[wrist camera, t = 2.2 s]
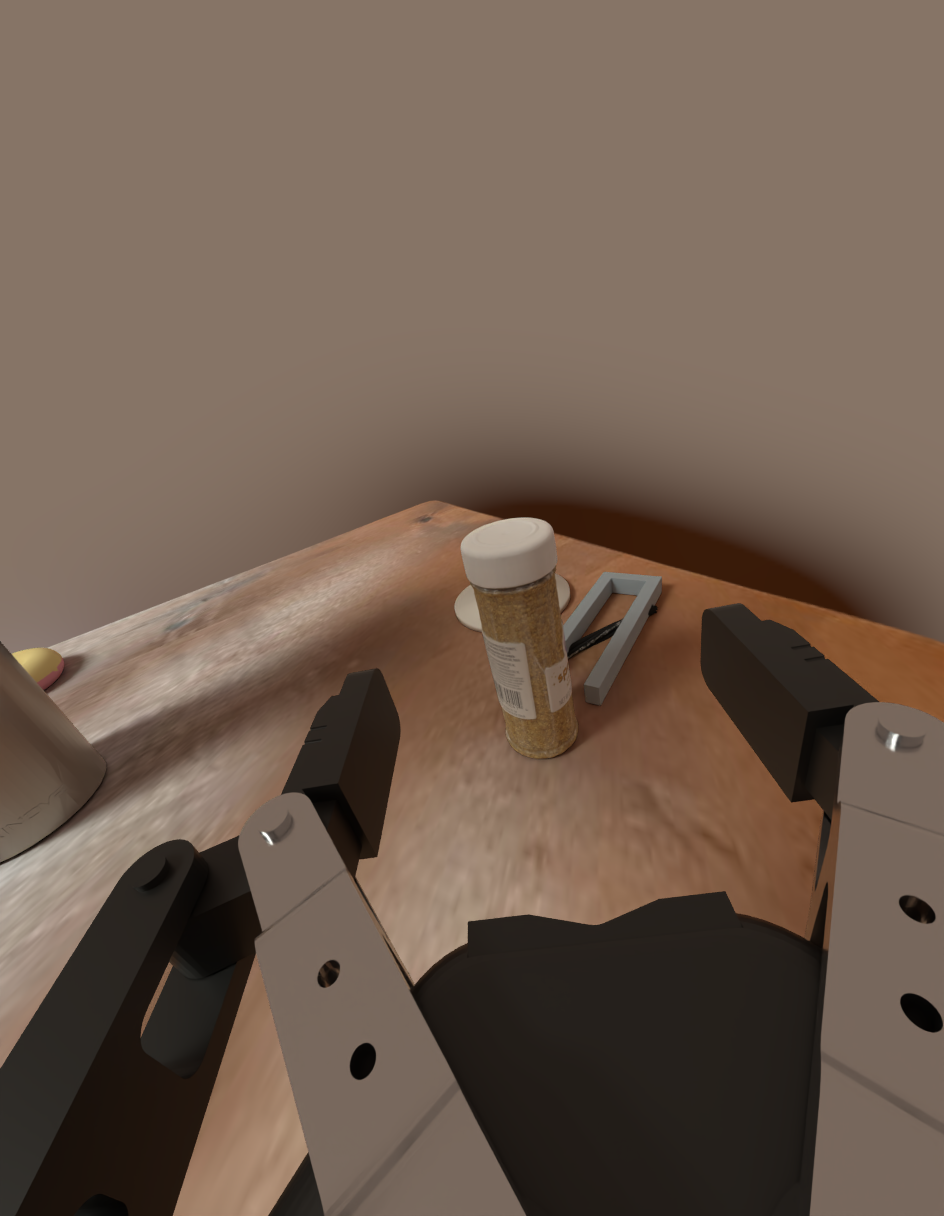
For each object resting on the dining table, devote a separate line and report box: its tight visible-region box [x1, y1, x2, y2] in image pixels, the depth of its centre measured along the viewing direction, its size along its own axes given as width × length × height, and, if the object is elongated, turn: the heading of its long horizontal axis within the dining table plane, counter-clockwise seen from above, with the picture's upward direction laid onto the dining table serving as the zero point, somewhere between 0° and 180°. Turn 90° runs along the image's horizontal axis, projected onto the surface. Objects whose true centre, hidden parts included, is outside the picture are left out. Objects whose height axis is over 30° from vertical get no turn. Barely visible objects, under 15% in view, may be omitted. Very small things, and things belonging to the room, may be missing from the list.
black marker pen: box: [567, 604, 658, 658], centre depth 35 cm, size 12×1×1 cm, turn 117°
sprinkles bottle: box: [461, 518, 578, 759], centre depth 25 cm, size 5×4×13 cm
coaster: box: [454, 574, 570, 632], centre depth 43 cm, size 11×11×1 cm
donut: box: [12, 648, 64, 690], centre depth 48 cm, size 10×5×9 cm
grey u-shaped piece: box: [563, 572, 662, 706], centre depth 35 cm, size 5×15×2 cm, turn 146°
